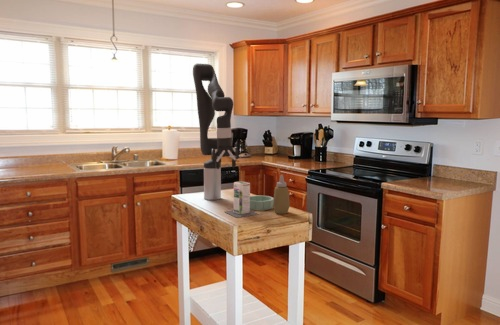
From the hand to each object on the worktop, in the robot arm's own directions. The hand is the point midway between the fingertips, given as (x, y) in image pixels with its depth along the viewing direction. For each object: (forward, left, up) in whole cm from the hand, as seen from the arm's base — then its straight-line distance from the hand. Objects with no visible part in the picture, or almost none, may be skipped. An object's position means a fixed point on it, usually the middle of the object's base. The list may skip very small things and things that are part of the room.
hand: (225, 168), depth 203 cm
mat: (+23, -3, -19) cm, 29 cm away
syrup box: (+23, -3, -19) cm, 29 cm away
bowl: (+16, +11, -19) cm, 27 cm away
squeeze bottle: (+30, +14, -19) cm, 38 cm away
